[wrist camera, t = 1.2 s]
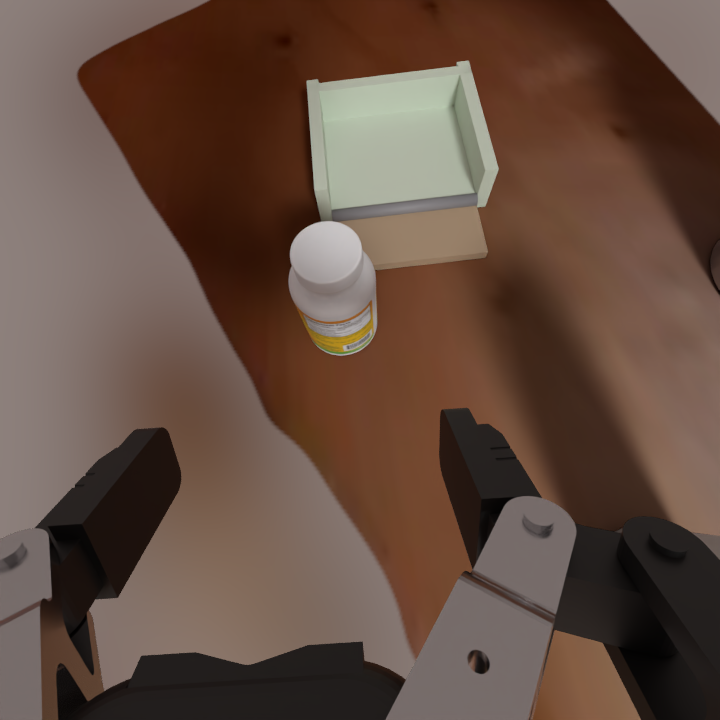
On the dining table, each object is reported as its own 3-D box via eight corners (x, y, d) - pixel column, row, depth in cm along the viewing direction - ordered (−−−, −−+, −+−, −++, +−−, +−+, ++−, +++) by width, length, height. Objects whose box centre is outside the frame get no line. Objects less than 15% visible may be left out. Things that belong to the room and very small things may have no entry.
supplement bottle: (321, 287, 31) (296, 201, 22) (385, 303, 30) (387, 220, 21) (298, 347, 30) (261, 281, 20) (365, 365, 29) (358, 305, 20)
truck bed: (459, 105, 37) (468, 60, 33) (497, 256, 31) (513, 223, 27) (314, 122, 37) (306, 80, 33) (326, 275, 31) (318, 246, 28)
